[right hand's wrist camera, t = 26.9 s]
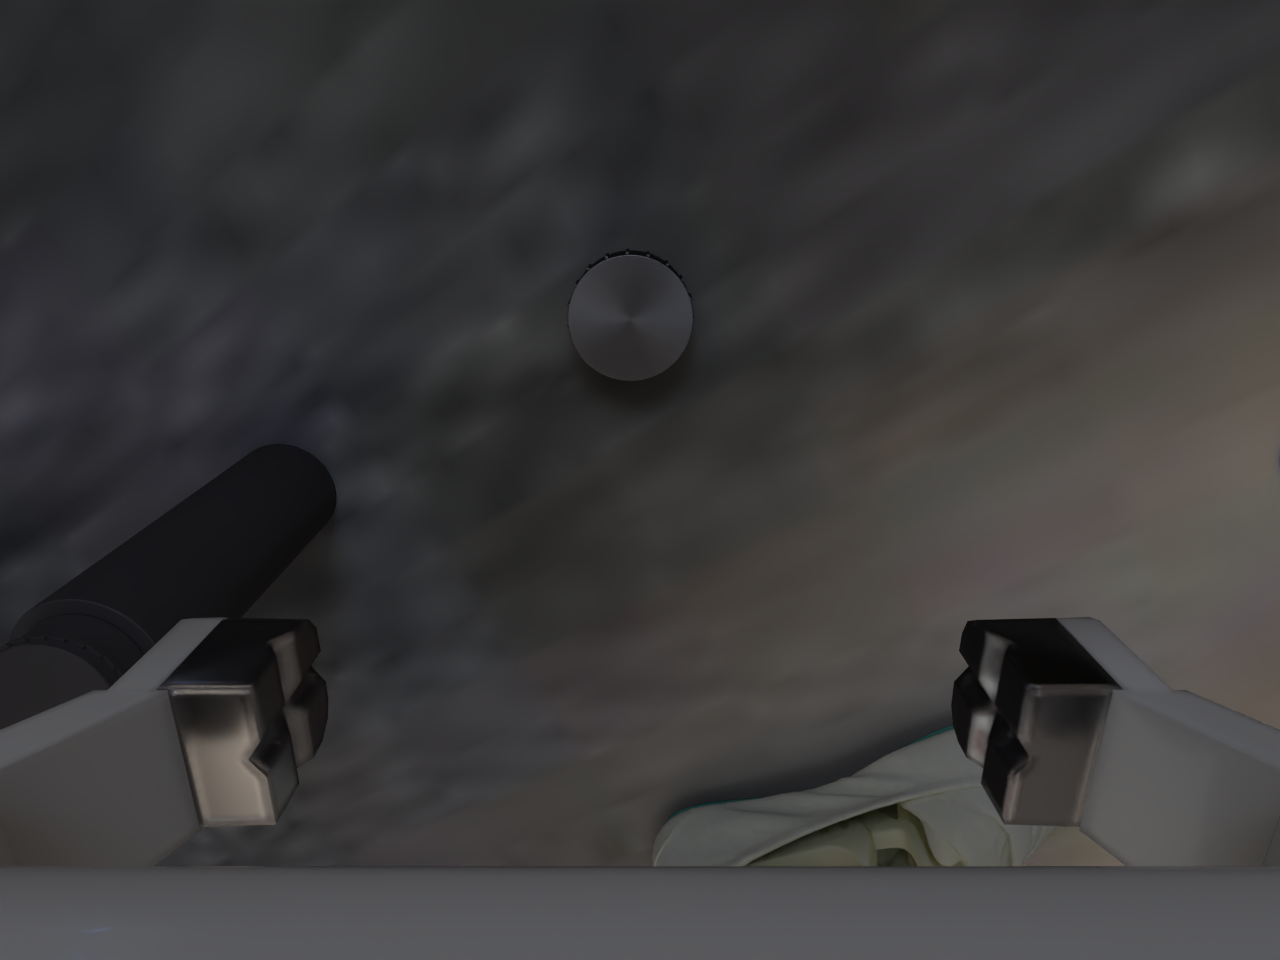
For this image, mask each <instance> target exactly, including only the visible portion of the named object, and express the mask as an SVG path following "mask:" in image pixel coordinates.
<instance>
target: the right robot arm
mask: <svg viewBox="0 0 1280 960" xmlns="http://www.w3.org/2000/svg"><path fill="white" fill-rule="evenodd" d="M320 651H321V649H320V644H319V639H318V634H317V629H316V627H315V626H314V624H313V623H312V622H311V621H310V620H309V619H259V618H230V619H229V618H226V617H213V618H189V619H182V620H180V621H179V622H178V623H177V624H176V625H175V626H174V627H173V628H172V629H171V630H170V631H169V632H168V633H167V634H166V635H165V636H164V637H163V638H162V639H161V640H159V641H158V642H157V643H156V644H155V645H154V646H153V647H152V648H151V649H150V650H149V651H148V652H147V653H146V654H145V655H144V656H143V657H142V658H141V659H140V660H139V661H137V662H136V663H135V664H134V665H133V666H132V667H131V668H130V669H129V670H128V671H127V672H126V673H125V674H124V675H123V676H122V677H121V678H120V679H119V680H118V681H116V682H115V683H114V684H113V685H112V686H111V687H110V688H109V689H108V690H93V691H91V692H89V693H86V694H84V695H82V696H79V697H77V698H74V699H72V700H70V701H67V702H65V703H63V704H60V705H58V706H56V707H53V708H51V709H48V710H46V711H44V712H41V713H39V714H37V715H34V716H32V717H30V718H27V719H25V720H22V721H20V722H18V723H15V724H13V725H11V726H8V727H6V728H4V729H1V730H0V960H1280V730H1279V729H1276V728H1274V727H1271V726H1269V725H1267V724H1264V723H1262V722H1260V721H1257V720H1255V719H1253V718H1250V717H1248V716H1246V715H1243V714H1241V713H1238V712H1236V711H1234V710H1231V709H1229V708H1227V707H1224V706H1222V705H1220V704H1217V703H1215V702H1213V701H1210V700H1208V699H1206V698H1203V697H1201V696H1198V695H1196V694H1194V693H1191V692H1189V691H1187V690H1172V689H1171V688H1170V687H1169V686H1168V685H1167V684H1166V683H1165V682H1164V681H1163V680H1162V679H1160V678H1159V677H1158V676H1157V675H1156V674H1155V673H1154V672H1153V671H1152V670H1151V669H1150V668H1149V667H1148V666H1147V665H1146V664H1145V663H1144V662H1143V661H1142V660H1141V659H1140V658H1138V657H1137V656H1136V655H1135V654H1134V653H1133V652H1132V651H1131V650H1130V649H1129V648H1128V647H1127V646H1126V645H1125V644H1124V643H1123V642H1122V641H1121V640H1120V639H1119V638H1118V637H1117V636H1115V635H1114V634H1113V633H1112V632H1111V631H1110V630H1109V629H1108V628H1107V627H1106V626H1105V625H1104V624H1103V623H1102V622H1101V621H1100V620H1097V619H1094V618H1091V617H1076V618H1039V619H998V620H973V621H967V624H966V626H965V628H964V630H963V632H962V637H961V643H960V649H959V651H960V653H961V655H962V656H963V658H964V659H965V661H966V662H967V664H968V665H969V667H968V668H967V669H966V670H965V671H964V672H963V673H962V674H961V675H960V676H959V677H958V678H957V679H956V680H955V681H954V687H953V696H952V704H951V706H952V717H953V727H954V730H955V733H956V737H957V740H958V743H959V745H960V747H961V749H962V750H963V752H964V754H965V756H966V758H968V759H969V760H971V761H973V762H974V763H976V764H977V765H979V766H980V767H982V768H983V773H982V779H981V785H982V786H983V788H984V790H985V792H986V793H987V795H988V797H989V799H990V800H991V802H992V804H993V806H994V807H995V809H996V811H997V813H998V814H999V816H1000V818H1001V820H1002V821H1003V823H1004V825H1037V826H1074V827H1080V829H1079V830H1080V831H1081V832H1083V833H1084V834H1085V835H1087V836H1088V837H1089V838H1090V839H1092V840H1093V841H1094V842H1096V843H1097V844H1098V845H1100V846H1101V847H1102V848H1104V849H1105V850H1106V851H1107V852H1109V853H1110V854H1111V855H1113V856H1114V857H1115V858H1117V859H1118V860H1119V861H1121V862H1122V863H1123V864H1124V865H1126V866H155V865H156V864H157V863H158V862H160V861H161V860H162V859H164V858H165V857H166V856H168V855H169V854H170V853H172V852H173V851H174V850H175V849H177V848H178V847H179V846H181V845H182V844H183V843H185V842H186V841H187V840H189V839H190V838H191V837H192V836H194V835H195V834H196V833H198V832H199V831H200V827H206V826H241V825H276V823H277V822H278V820H279V818H280V816H281V815H282V813H283V811H284V809H285V808H286V806H287V804H288V802H289V800H290V799H291V797H292V795H293V793H294V792H295V790H296V788H297V786H298V785H299V779H298V773H297V768H298V767H300V766H301V765H303V764H304V763H306V762H307V761H309V760H311V759H312V758H314V756H315V754H316V752H317V750H318V748H319V747H320V745H321V743H322V741H323V737H324V733H325V728H326V724H327V720H328V693H327V686H326V681H325V680H324V679H323V678H322V677H321V676H320V675H319V674H318V673H317V672H316V671H315V670H314V669H313V668H312V667H311V665H312V664H313V662H314V661H315V659H316V658H317V656H318V655H319V653H320Z"/></svg>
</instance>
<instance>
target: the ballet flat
mask: <svg viewBox="0 0 1280 960" xmlns="http://www.w3.org/2000/svg"><path fill="white" fill-rule="evenodd" d="M982 773H983V768H982V767H980V766H979V765H977V764H976V763H974V762H973V761H971V760H969V759H968V758H966V756H965V754H964V752H963V750H962V749H961V747H960V745H959V743H958V740H957V737H956V733H955V730H954V727H953V725H950V726H947V727H944V728H942V729H939V730H937V731H934V732H932V733H930V734H928V735H925V736H923V737H921V738H919V739H917V740H915V741H913V742H911V743H909V744H908V745H906V746H904V747H902V748H900V749H898V750H896V751H894V752H892V753H889V754H887V755H885V756H883V757H881V758H880V759H878V760H876V761H874V762H873V763H871V764H869V765H868V766H866V767H864V768H863V769H861V770H859V771H857V772H856V773H855V774H853V775H851V776H849V777H844V778H840V779H838V780H836V781H835V782H832V783H828V784H826V785H823V786H820V787H817V788H814V789H808V790H805V791H801V792H788V793H781V794H777V795H773V796H768V797H762V798H748V799H735V800H725V801H717V802H710V803H704V804H698V805H695V806H691V807H687V808H684V809H682V810H680V811H677V812H676V813H674V814H673V815H672V816H671V817H670V818H669V819H668V821H667V822H666V823H665V824H664V825H663V827H662V828H661V829H660V831H659V832H658V834H657V836H656V839H655V842H654V846H653V857H652V866H1022V864H1023V862H1024V861H1025V860H1026V859H1027V858H1028V857H1029V856H1030V855H1032V854H1033V853H1034V851H1035V850H1036V849H1037V848H1038V847H1039V844H1040V843H1041V842H1042V841H1043V840H1044V839H1045V838H1047V837H1048V836H1049V835H1050V834H1051V832H1052V831H1053V830H1054V829H1055V828H1056V827H1057V826H1037V825H1004V823H1003V821H1002V820H1001V818H1000V816H999V814H998V813H997V811H996V809H995V807H994V806H993V804H992V802H991V800H990V799H989V797H988V795H987V793H986V792H985V790H984V788H983V786H982V785H981V779H982Z"/></svg>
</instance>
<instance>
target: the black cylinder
mask: <svg viewBox="0 0 1280 960" xmlns="http://www.w3.org/2000/svg"><path fill="white" fill-rule="evenodd" d="M335 503H336V493H335V487H334V483H333V481H332V478H331V476H330V474H329V473H328V471H327V470H326V468H325V467H324V466H323V465H322V464H321V462H320V461H318V460H317V459H316V458H315V457H314V456H312V455H311V454H309V453H308V452H306V451H304V450H302V449H299V448H297V447H293V446H289V445H282V444H275V445H267V446H263V447H261V448H258V449H256V450H254V451H253V452H251V453H250V454H248V455H247V456H245V457H244V458H243V459H241V460H240V461H238V462H237V463H236V464H234V465H233V466H231V467H230V468H229V469H227V470H226V471H224V472H223V473H222V474H220V475H219V476H217V477H216V478H215V479H213V480H212V481H210V482H209V483H208V484H206V485H205V486H203V487H202V488H200V489H199V490H198V491H196V492H195V493H193V494H192V495H191V496H189V497H188V498H186V499H185V500H184V501H182V502H181V503H179V504H178V505H177V506H175V507H174V508H172V509H171V510H170V511H168V512H167V513H165V514H164V515H163V516H161V517H160V518H158V519H157V520H155V521H154V522H153V523H151V524H150V525H148V526H147V527H146V528H144V529H143V530H141V531H140V532H139V533H137V534H136V535H134V536H133V537H132V538H130V539H129V540H127V541H126V542H125V543H123V544H122V545H120V546H119V547H118V548H116V549H115V550H113V551H112V552H110V553H109V554H108V555H106V556H105V557H103V558H102V559H101V560H99V561H98V562H96V563H95V564H94V565H92V566H91V567H89V568H88V569H87V570H85V571H84V572H82V573H81V574H80V575H78V576H77V577H75V578H74V579H73V580H71V581H70V582H68V583H67V584H65V585H64V586H63V587H61V588H60V589H58V590H57V591H56V592H54V593H53V594H51V595H50V596H49V597H47V598H46V599H44V600H43V601H42V602H40V603H39V604H37V605H36V606H35V607H33V608H32V609H30V610H29V611H28V612H27V613H25V614H24V615H23V616H22V617H21V618H20V619H19V621H18V622H17V624H16V625H15V627H14V629H13V631H12V634H11V636H10V641H9V642H8V643H7V644H5V645H4V646H2V647H1V648H0V728H1V729H4V728H6V727H8V726H11V725H13V724H15V723H18V722H20V721H22V720H25V719H27V718H30V717H32V716H34V715H37V714H39V713H41V712H44V711H46V710H48V709H51V708H53V707H56V706H58V705H60V704H63V703H65V702H67V701H70V700H72V699H74V698H77V697H79V696H82V695H84V694H86V693H89V692H91V691H93V690H108V689H109V688H110V687H111V686H112V685H113V684H114V683H115V682H116V681H118V680H119V679H120V678H121V677H122V676H123V675H124V674H125V673H126V672H127V671H128V670H129V669H130V668H131V667H132V666H133V665H134V664H135V663H136V662H137V661H139V660H140V659H141V658H142V657H143V656H144V655H145V654H146V653H147V652H148V651H149V650H150V649H151V648H152V647H153V646H154V645H155V644H156V643H157V642H158V641H159V640H161V639H162V638H163V637H164V636H165V635H166V634H167V633H168V632H169V631H170V630H171V629H172V628H173V627H174V626H175V625H176V624H177V623H178V622H179V621H180V620H182V619H189V618H213V617H226V618H229V619H230V618H241V617H242V616H243V615H244V614H245V613H246V612H247V610H248V609H249V608H250V607H251V606H252V605H253V604H254V603H255V602H256V601H257V599H258V598H259V597H260V596H261V595H262V594H263V593H264V592H265V591H266V589H267V588H268V587H269V586H270V585H271V584H272V583H273V582H274V581H275V580H276V578H277V577H278V576H279V575H280V574H281V573H282V572H283V571H284V570H285V568H286V567H287V566H288V565H289V564H290V563H291V562H292V561H293V560H294V559H295V557H296V556H297V555H298V554H299V553H300V552H301V551H302V550H303V549H304V547H305V546H306V545H307V544H308V543H309V542H310V541H311V540H312V539H313V537H314V536H315V535H316V534H317V533H318V532H319V531H320V530H321V529H322V528H323V526H324V525H325V524H326V523H327V522H328V520H329V519H330V518H331V516H332V514H333V511H334V508H335Z"/></svg>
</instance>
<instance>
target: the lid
mask: <svg viewBox="0 0 1280 960" xmlns="http://www.w3.org/2000/svg"><path fill="white" fill-rule="evenodd" d="M683 281H684V280H683V277H682V275H679V274H678V273H677V272H676V271H675V270H674V269H673V268H672V267H671V266H670V265H669V263H668V261H667V260H666V261H664V260H662V259H660V258H659V257H657V256H654V255H652V254H650V253H649V251H647V253H646V252H641V251H629V249H626V251H620V252H616V253H612V254H610V255H609V253H607V254H606V256H605V257H603V258H601V259H600V260H598V261H597V262H595V263H594V264H593V265H591V264H590V265H589V266H588V268H587V270H586V272H585V273H584V274H583V276H582V277H581V278H580V280H577V281H576V283H575V285H574V286H575V289H574V291H573V293H572V296H571V299H570V301H569V303H568V305H567V306H568V325H567V326H568V327H569V332H570V336H571V339H572V342H573V344H574V347H575V348H576V350H577V351H578V353H579V354H580V356H581V357H582V358H583V360H584V361H585V362H586V363H587V364H588V365H589V366H591V367H592V368H593V369H595V370H596V371H598V372H599V373H601V374H603V375H605V376H608V377H610V378H614V379H617V380H623V381H638V380H644V379H648V378H651V377H654V376H656V375H658V374H660V373H662V372H664V371H665V370H667V369H668V368H670V367H671V366H672V365H673V364H674V363H675V362H676V361H677V360H678V359H679V358H680V356H681V355H682V353H683V352H684V350H685V349H686V347H687V345H688V342H689V341H690V337H691V333H692V328H693V321H695V319H694V316H693V307H692V303H691V300H692V297H691V294H690V293H689V294H688V291H687V289H686V286H685V284H684V282H683Z"/></svg>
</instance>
